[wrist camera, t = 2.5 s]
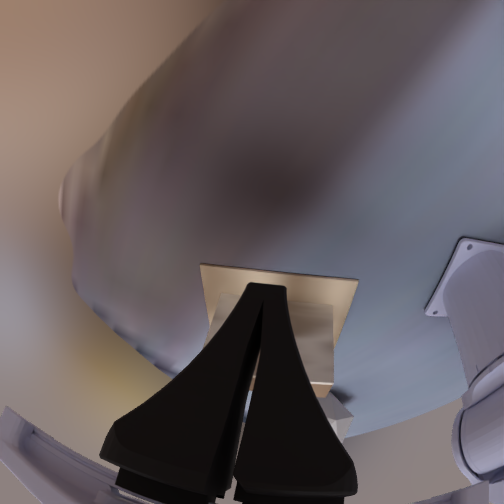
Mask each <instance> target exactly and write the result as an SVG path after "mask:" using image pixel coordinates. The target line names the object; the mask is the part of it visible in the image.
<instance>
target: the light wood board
mask: <svg viewBox="0 0 504 504" xmlns="http://www.w3.org/2000/svg"><path fill="white" fill-rule="evenodd" d="M200 269H201V276H202V282H203V288H204V294H205V300H206V306H207V312H208V318H209V323H210V325H211V322H212V319H213V316H214V313H215V310H216V307H217V304H218V301H219V298H220V296H221V293H226V294H234V295H242V294H243V292H244V290H245V288H246V286H247V284H248V283H250V282H255V283H265V284H274V285H284V286H285V287H286V288H287V301H296V302H306V303H316V304H328V305H332V308H333V340H334V348H335V345H336V343H337V340H338V338H339V335H340V333H341V330H342V327H343V325H344V322H345V319H346V317H347V314H348V311H349V308H350V306H351V303H352V300H353V297H354V294H355V291H356V288H357V285H358V282H359V281H358V280H356V279H345V278H334V277H324V276H313V275H303V274H294V273H284V272H274V271H265V270H255V269H246V268H237V267H228V266H219V265H210V264H202V263H201V264H200Z"/></svg>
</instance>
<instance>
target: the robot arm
mask: <svg viewBox="0 0 504 504" xmlns="http://www.w3.org/2000/svg"><path fill="white" fill-rule="evenodd" d="M468 245H470V246H468ZM425 313H426V315H427V316H447V317H448V318H449V321H450V324H451V327H452V330H453V333H454V336H455V339H456V343H457V346H458V349H459V353H460V356H461V360H462V364H463V368H464V372H465V376H466V380H467V384H468V389H469V390H468V391H467V392H465V393H464V394H463V395H462V396H461V397H462V402H463V408H462V409H461V410H460V411H459V412H458V414H457V416H456V418H455V421H454V424H453V429H452V440H451V444H452V453H453V457H454V460H455V462H456V464H457V466H458V468H459V469H460V471H461V472H462V473H463V474H464V475H465V476H466V477H467V478H468V479H469V481H470V482H471V484H472V485H471V486H469V487H466V488H463V489H459V490H456V491H452V492H449V493H446V494H443V495H439V496H436V497H432V498H431V499H427V500H423V501H419V502H415V503H410V504H489V502H491V503H495V504H504V245H501V244H496V243H491V242H485V241H480V240H474V239H469V238H463V239H461V240H460V241H459V243H458V245H457V247H456V250H455V252H454V254H453V256H452V259H451V261H450V263H449V265H448V267H447V269H446V271H445V273H444V275H443V277H442V279H441V281H440V283H439V285H438V287H437V289H436V291H435V293H434V295H433V296H432V298H431V300H430V302H429V304H428V306H427V307H426V309H425ZM259 352H260V356H259ZM258 356H259V362H258V367H257V372H256V377H255V382H254V387H253V392H252V396H251V401H250V406H249V410H248V414H247V419H246V423H245V427H244V432H243V436H242V440H241V444H240V448H239V452H238V456H237V459H236V455H237V449H238V444H239V437H240V432H241V427H242V422H243V416H244V410H245V405H246V400H247V396H248V392H249V389H250V385H251V381H252V378H253V374H254V371H255V367H256V363H257V359H258ZM99 456H100V458H101V459H104V460H106V461H108V462H110V463H112V464H114V465H116V466H119V467H120V469H119V472H115V471H113V470H111V469H108V468H106V467H104V466H102V465H100V464H98V463H96V462H94V461H92V460H90V459H88V458H86V457H84V456H82V455H81V454H79V453H76V452H75V451H73V450H71V449H69V448H68V447H66V446H64V445H63V444H61V443H60V442H58V441H56V440H54V438H53V437H51V436H50V435H48V434H47V433H45V432H43V431H42V430H41V429H39V428H38V427H36V426H35V425H33V424H32V423H30V422H28V421H27V420H25V419H24V418H23V417H21V416H20V415H19V414H17V413H16V412H15V411H13V410H12V409H11V408H9V407H8V406H5V409H4V411H3V413H2V415H1V417H0V461H1V462H2V463H3V464H4V465H5V466H6V467H7V468H8V469H9V470H10V471H11V472H12V473H13V474H14V475H15V476H16V477H17V478H18V480H19V481H20V482H21V483H22V484H23V485H24V486H25V487H26V488H27V489H28V490H29V491H30V492H31V493H32V494H33V495H34V496H35V497H36V498H37V499H38V500H39V501H40V502H41V503H42V504H149V503H146V502H144V501H142V500H138V499H136V498H133V497H129V496H125V495H122V494H120V493H119V491H118V489H119V490H121V491H124V492H126V493H128V494H131V495H133V496H136V497H138V498H141V499H144V500H147V501H149V502H152V503H155V504H216V503H215V500H216V497H218V498H222V499H224V496H225V491H227V490H228V489H230V488H231V484H232V478H233V476H234V477H235V479H236V480H237V486H236V490H235V494H234V500H235V501H239V502H242V504H344V497H346V496H352V495H355V494H356V493H357V489H358V484H357V475H356V470H355V467H354V463H353V461H352V459H351V458H350V456H349V454H348V453H347V452H346V450H345V448H344V447H343V445H342V443H341V442H340V440H339V439H338V437H337V435H336V433H335V432H334V430H333V428H332V426H331V425H330V423H329V421H328V419H327V417H326V415H325V413H324V411H323V409H322V407H321V405H320V403H319V401H318V399H317V397H316V395H315V392H314V390H313V388H312V385H311V383H310V381H309V378H308V376H307V373H306V371H305V368H304V365H303V362H302V359H301V356H300V353H299V350H298V347H297V344H296V340H295V336H294V333H293V329H292V325H291V320H290V315H289V310H288V303H287V288H286V287H285V286H284V285H274V284H265V283H255V282H250V283H248V284H247V286H246V288H245V290H244V292H243V294H242V295H241V297H240V299H239V301H238V302H237V304H236V305H235V307H234V309H233V310H232V312H231V313H230V315H229V316H228V317H227V319H226V320H225V322H224V323H223V325H222V326H221V327H220V329H219V330H218V331H217V333H216V334H215V335H214V336H213V338H212V339H211V340H210V341H209V343H208V344H207V345H206V346H205V347H204V348H203V350H202V351H201V352H200V353H199V354H198V355H197V356H196V357H195V358H194V359H193V360H192V361H191V363H190V364H189V365H188V366H187V367H186V368H184V369H183V370H182V371H181V372H180V373H179V374H178V375H177V376H176V377H175V378H174V379H173V380H172V381H170V382H169V383H168V384H167V385H166V386H165V387H163V388H162V389H161V390H160V391H158V392H157V393H156V394H154V395H153V396H152V397H151V398H149V399H148V400H147V401H145V402H144V403H143V404H141V405H140V406H138V407H137V408H135V409H134V410H132V411H130V412H129V413H128V414H126V415H124V416H123V417H121V418H119V419H118V420H116V421H115V422H114V424H113V425H112V427H111V428H110V430H109V432H108V434H107V436H106V438H105V441H104V444H103V446H102V449H101V451H100V454H99ZM235 461H236V463H235Z"/></svg>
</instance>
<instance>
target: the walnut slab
mask: <svg viewBox="0 0 504 504" xmlns="http://www.w3.org/2000/svg"><path fill="white" fill-rule="evenodd" d="M240 297H241V295H234V294H226V293H221V296H220V298H219V301H218V304H217V307H216V310H215V313H214V316H213V319H212V322H211V325H210V328H209V331H208V335H207V338H206V341H205V344H204V347H205V346H206V345H207V344H208V343H209V341H210V340H211V339H212V338H213V336H214V335H215V334H216V333H217V331H218V330H219V329H220V327H221V326H222V325H223V323H224V322H225V320H226V319H227V317H228V316H229V315H230V313H231V312H232V310H233V309H234V307H235V305H236V304H237V302H238V301H239V299H240ZM287 303H288V310H289V315H290V320H291V325H292V329H293V333H294V336H295V340H296V344H297V347H298V350H299V353H300V356H301V359H302V362H303V365H304V368H305V371H306V373H307V376H308V378H309V381H310V383H311V385H312V388H313V390H314V392H315V395H316V397H321V398H326V396H327V394H328V392H329V391H330V389H331V387H332V385H333V383H334V340H333V308H332V305H328V304H316V303H306V302H296V301H287ZM204 347H203V348H204ZM259 356H260V352H259ZM259 356H258V359H257V363H256V367H255V371H254V374H253V378H252V381H251V385H250V389H249V390H251V391H253V387H254V382H255V377H256V372H257V367H258V362H259Z"/></svg>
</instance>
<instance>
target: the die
mask: <svg viewBox="0 0 504 504" xmlns="http://www.w3.org/2000/svg"><path fill="white" fill-rule="evenodd" d="M317 399H318V401H319V403H320V405H321V407H322V409H323V411H324V413H325V415H326V417H327V419H328V421H329V423H330V425H331V426H332V428H333V430H334V432H335V433H336V435H337V437H338V439H339V440H340V442H341V443H342V442H343V440H344V438H345V436H346V434H347V431H348V429H349V427H350V424H351V422H352V420H353V417H354V416H353V415H352V414H351V413H350V412H349V411H348V410H347V409H346V408H345V407H344V406H343V404H342V403H341V402H340V401H339V400H338V399H337V398H336V397H335V396H334V395H333V394H332V393H331V392H330V391H329V392H328V394H327V396H326V398H321V397H317Z"/></svg>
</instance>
